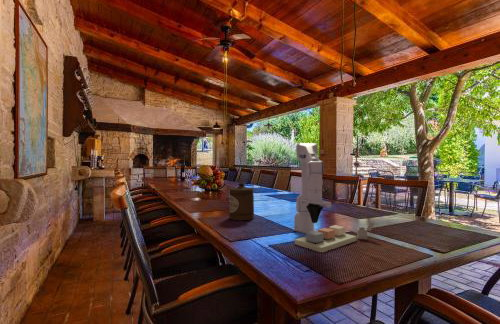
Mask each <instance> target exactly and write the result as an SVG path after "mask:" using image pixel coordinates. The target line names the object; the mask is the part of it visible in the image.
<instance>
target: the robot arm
mask: <svg viewBox="0 0 500 324" xmlns="http://www.w3.org/2000/svg"><path fill="white" fill-rule="evenodd" d="M318 149H319V148H318V143H316V142H310V143H309V142H307V143H304V142H303V143H301V142H298V143H297V144H296V150H295V151H296V160H297V161H298V162H299V163H300V165H301V166H300V167H301V168H300V169H301V193H300V194H299V195H298V196H297V197H296V203H295V205H296V207H295V208H296V209H295V210H296V213H295V215H294V217H293V218H294V221H293V223H294V224H293V225H294V226H293V229H292V230H293V231H295V232H298V233H302V234H305V235H306V233H307V232H311V231H317V232H318V229H315V224H317V223H318V222H319V219H320V218H319V217H320V215H321V213H322V210H323V209H324V208H327V209H329V208H332V201H326V200H323V176H324V171H325V163H324V161H323V160H320V157H319V155H318Z"/></svg>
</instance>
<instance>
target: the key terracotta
mask: <svg viewBox="0 0 500 324" xmlns="http://www.w3.org/2000/svg"><path fill="white" fill-rule="evenodd" d="M317 232H321V233H323V238H326V239H329V238H333V237H335V230H332V229H329V227H323V228H319V229H317Z"/></svg>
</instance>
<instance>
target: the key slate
mask: <svg viewBox="0 0 500 324" xmlns="http://www.w3.org/2000/svg"><path fill="white" fill-rule="evenodd" d="M305 236H306V240H308V241H312V242H315V243H316V242H320V241H323V233H321V232H318V230H317V231H311V232H307V233H306V234H305ZM315 243H314V244H315Z"/></svg>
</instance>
